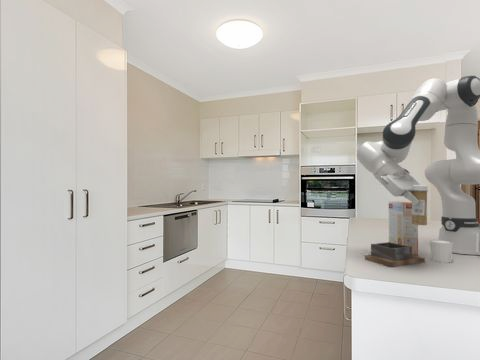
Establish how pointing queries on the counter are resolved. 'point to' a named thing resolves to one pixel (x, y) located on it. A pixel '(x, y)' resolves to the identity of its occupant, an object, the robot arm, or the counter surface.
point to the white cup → (441, 250)
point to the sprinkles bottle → (419, 205)
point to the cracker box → (402, 225)
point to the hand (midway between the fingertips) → (421, 203)
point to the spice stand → (392, 255)
